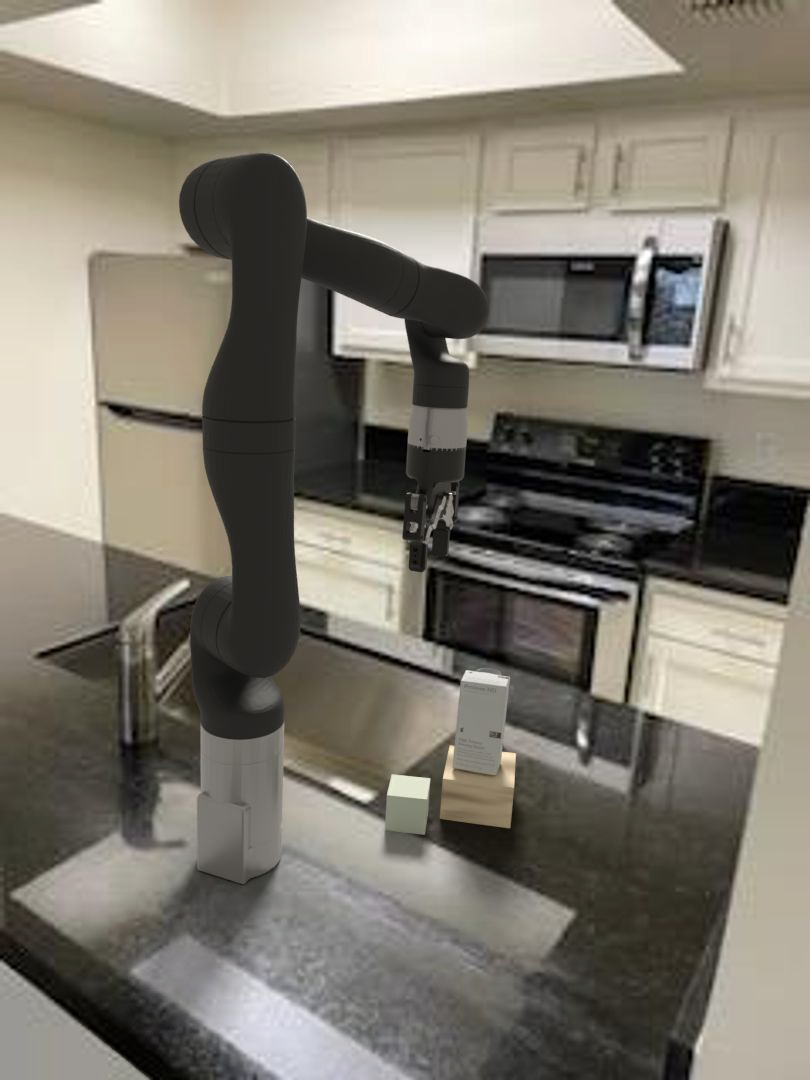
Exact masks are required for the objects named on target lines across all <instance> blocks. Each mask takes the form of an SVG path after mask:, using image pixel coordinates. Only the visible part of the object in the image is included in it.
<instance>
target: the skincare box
mask: <svg viewBox="0 0 810 1080" xmlns="http://www.w3.org/2000/svg"><path fill="white" fill-rule="evenodd" d="M510 682H511V677H510V676H506V675H502V676H501V675H495V674H491V673H485V672H476V670H468V669H466V670H465V672H464V674H463V676H462V678H461V680H460V686H459V697H458V707H457V716H456V724H455V725H456V727H455V737H454V745H453V746H454V756H453V765H452V766H453V768H456V769H462V770H467V771H472V772H477V773H483V774H489V775H497V772H498V769H499V766H500V763H501V757H502V752H503V745H504V739H505V738H504V737H505V730H506V729H505V727H506V717H507V711H508V710H507V709H508V700H509V692H510Z"/></svg>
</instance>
